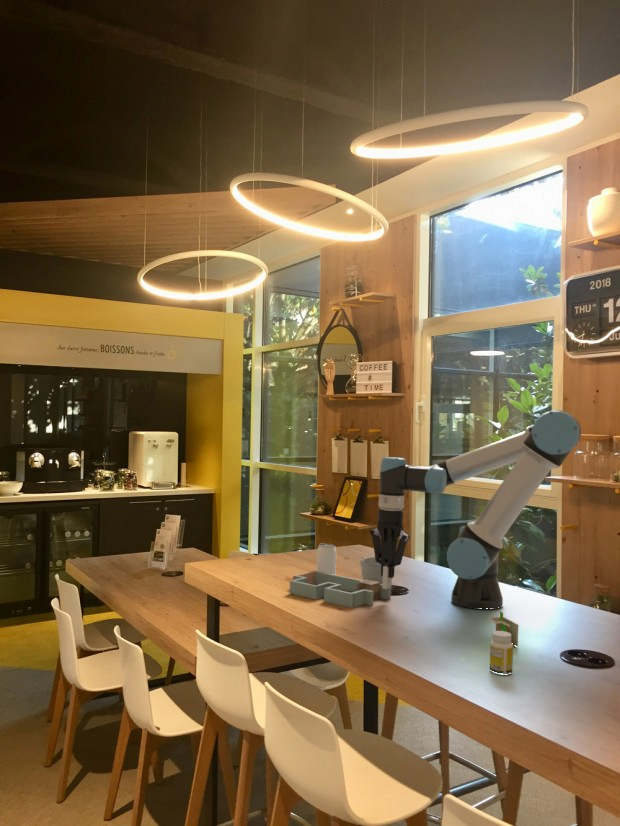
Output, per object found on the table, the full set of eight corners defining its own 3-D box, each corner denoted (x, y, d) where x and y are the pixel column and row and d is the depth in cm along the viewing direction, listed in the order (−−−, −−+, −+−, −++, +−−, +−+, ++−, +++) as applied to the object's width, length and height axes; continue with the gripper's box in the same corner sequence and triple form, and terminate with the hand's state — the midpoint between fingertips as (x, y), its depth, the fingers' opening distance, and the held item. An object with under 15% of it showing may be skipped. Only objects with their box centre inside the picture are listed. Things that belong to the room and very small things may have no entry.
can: (335, 579, 237) (337, 544, 237) (334, 583, 231) (336, 547, 231) (316, 578, 238) (318, 542, 238) (315, 582, 231) (316, 546, 231)
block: (379, 598, 213) (380, 582, 213) (370, 601, 209) (371, 584, 209) (365, 595, 216) (366, 579, 216) (356, 598, 212) (357, 581, 212)
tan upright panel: (503, 650, 168) (504, 616, 168) (488, 641, 175) (489, 609, 175) (517, 649, 169) (518, 616, 169) (503, 640, 176) (504, 608, 176)
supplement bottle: (508, 668, 154) (509, 630, 154) (515, 676, 149) (516, 636, 149) (486, 668, 153) (488, 629, 154) (493, 675, 149) (494, 636, 149)
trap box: (390, 599, 212) (391, 585, 212) (359, 609, 198) (359, 595, 199) (313, 582, 230) (313, 570, 230) (279, 591, 216) (280, 578, 216)
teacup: (398, 586, 230) (399, 562, 230) (369, 588, 226) (370, 563, 226) (379, 577, 243) (380, 554, 243) (351, 579, 239) (351, 555, 239)
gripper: (365, 507, 210) (361, 585, 210) (402, 512, 202) (398, 594, 201) (379, 505, 216) (375, 582, 215) (416, 510, 207) (412, 590, 207)
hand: (386, 587), depth 208 cm, fingers closed
